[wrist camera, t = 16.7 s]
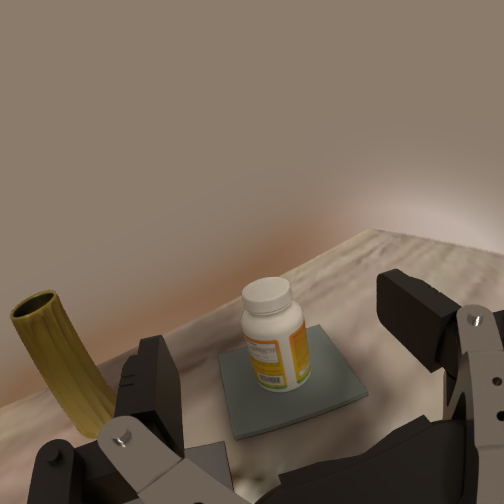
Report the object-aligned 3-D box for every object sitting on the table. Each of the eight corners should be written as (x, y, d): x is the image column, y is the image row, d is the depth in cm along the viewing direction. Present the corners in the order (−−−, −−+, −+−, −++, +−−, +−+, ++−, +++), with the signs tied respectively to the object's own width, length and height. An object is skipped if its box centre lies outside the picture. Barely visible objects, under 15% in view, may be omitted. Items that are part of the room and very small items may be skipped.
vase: (101, 393, 31) (43, 285, 26) (135, 408, 28) (72, 289, 23) (68, 425, 26) (-3, 316, 21) (100, 447, 23) (18, 326, 18)
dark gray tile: (113, 552, 13) (111, 551, 12) (118, 459, 22) (117, 457, 22) (246, 544, 14) (245, 543, 14) (224, 442, 23) (223, 441, 23)
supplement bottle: (299, 350, 32) (285, 266, 28) (320, 381, 27) (309, 291, 24) (250, 366, 31) (227, 284, 28) (265, 401, 26) (240, 313, 23)
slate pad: (235, 440, 23) (233, 436, 23) (219, 358, 34) (217, 354, 34) (367, 395, 24) (368, 391, 24) (319, 328, 36) (319, 324, 35)
